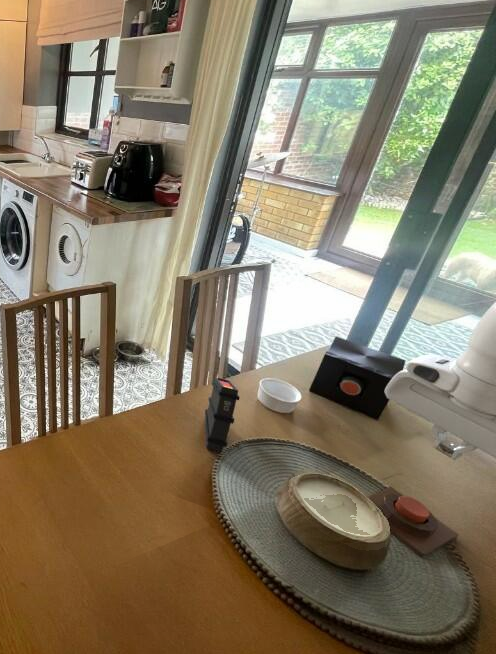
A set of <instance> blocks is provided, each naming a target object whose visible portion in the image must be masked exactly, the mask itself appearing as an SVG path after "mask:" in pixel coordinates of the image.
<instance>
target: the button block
mask: <svg viewBox="0 0 496 654" xmlns="http://www.w3.org/2000/svg"><path fill="white" fill-rule="evenodd" d="M401 496H405V495H404V494H403V493H401V492H400V491H398V490H396V489H395V488H394V487H392V486H389V487H386V488H384V489H381V490H380V491H378V492H375V493H373V494H372V495H370V496H367V497H368V498H369V499H370V500H371V501H372V502H373V503H374V504H375V505H376V506H377V507H378V508H379V509H380V510H381V512H382V513H383V515H384V516H385V517H386V518H387V520H388V522H389V526H390V532H391V534H390V535H391V536H392V537H394V538H395V539H396V540H398V541H399V542H400V543H401V544H402V545H404V546H405V547H407V548H408V549H409V550H410V551H411V552H413V553H414V554H415V555H416V556H418V557H419V558H420V559H423V558H426V556H428V555H430V554H432V553H434V552H435V551H437V550H438V549H440V548H442V547H444V546H446V545H447V544H449V543H451V542H453V541H454V540H456V539H457V537H458V536H459V533H457V532H456V531H454V530H453V529H451V528H450V527H449V526H448V525H446V524H444V523H443V522H442V521H441V520H438V518H437V517H435V516H434V514H433V513H432V512H431V511H430V510H429V509H428V511H429V513H430V515H429V517H428V518H427V519H426V521H425V522H424V523H415V522H413V521H411V520H409V519H407V518H406V517H404V516H403V515H402V514H400V513H399V512H398V511H397V510H396V508H395V503H396V502H397V500H398V499H399V497H401Z"/></svg>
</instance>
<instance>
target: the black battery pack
mask: <svg viewBox="0 0 496 654" xmlns="http://www.w3.org/2000/svg"><path fill="white" fill-rule="evenodd" d="M211 386H212V390H211V391H212V392H211V395H210V397H208V407H207V408H205V410H204V418H205V421H204V422H205V449H206V450H208V451H211V452H215V453H218V454H222V453H223V450H224V447H225V448H227V446H228V435H229V432H230V427H231V424H232V425H234V423H235V418H234V412H235V408H236V403H237V401H240V396H239V389H238V388H237V387H236V386H235V385H234V384H233V382H232V381H231V380H229V379H224V378H220V377H216V376H215V377H214V381H211Z"/></svg>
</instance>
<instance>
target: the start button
mask: <svg viewBox="0 0 496 654" xmlns="http://www.w3.org/2000/svg"><path fill="white" fill-rule="evenodd" d="M395 508H396V510H397V511H398V512H399V513H400V514H402V515H403V516H404V517H406V518H407V519H409V520H411V521H413V522H415V523H424V522H425V521H426V519H427V518H428V517H429V515H430V513H429V511H430V510H429V509H428V508H427V507H426V505H424V504H423V503H422V502H420V501H419V500H417V499H415V498H413V497H410V496H407V495H406V496H405V495H404V496H401V497H399V499H398V500H397V502H396V503H395ZM428 510H429V511H428Z"/></svg>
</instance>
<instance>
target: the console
mask: <svg viewBox="0 0 496 654" xmlns="http://www.w3.org/2000/svg"><path fill="white" fill-rule="evenodd" d="M406 361H407V360H405V359H403V358H400V357H397V356H394V355H391V354H389V353H386V352H382V351H380V350H376V349H373V348H371V347H368V346H366V345H362V344H360V343H356V342H353V341H350V340H347V339H345V338H342V337H339V336H334V338H333V340H332V341H331V343H330V345H329V346H328V348H327V349H326V352H325V353H324V355H323V357H322V359H321V361H320V364H319V366H318V369H317V371H316V374H315V375H314V378H313V379H312V382H311V385H310V387H309V389H308V391H309V392H311V393H313V394H316V395H318V396H320V397H323V398H324V399H326V400H327V399H328V400H329V401H332V402H334V403H337V404H339V405H341V406H343V407H346V408H347V409H351V410H353V411H355V412H357V413H360V414H362V415H364V416H367V417H369V418H371V419H373V420H375V421H379V420H380V418H381V416H382V415H383V412H384V411H385V409H386V407H387V405H388V403H389V402H390V400H389V399H388V398H387V397H386V394H385V392H384V391H385V388H386V386H387V385H388V383H389V382H390V381H391V379H392V378H393V377H394V376H395V375H396V374H397V373H398V372H400V371H403V370H404V367H405V366H406ZM347 376H353V377H356V378H358V379H360V380H361V382H362V383H363V387H362V389H361V392H360V393H359V394H357V395H349V394H347V393H345V392H344V391H342V389H341V387H340V384H341V382H342V380H343V378H345V377H347Z"/></svg>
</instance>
